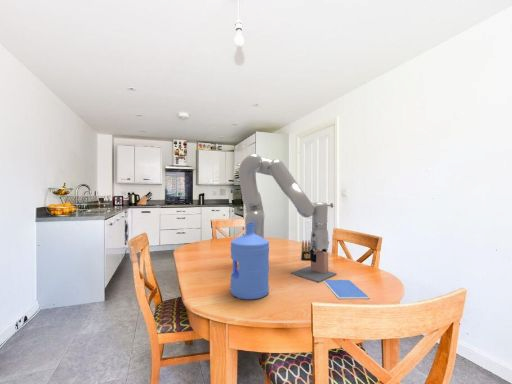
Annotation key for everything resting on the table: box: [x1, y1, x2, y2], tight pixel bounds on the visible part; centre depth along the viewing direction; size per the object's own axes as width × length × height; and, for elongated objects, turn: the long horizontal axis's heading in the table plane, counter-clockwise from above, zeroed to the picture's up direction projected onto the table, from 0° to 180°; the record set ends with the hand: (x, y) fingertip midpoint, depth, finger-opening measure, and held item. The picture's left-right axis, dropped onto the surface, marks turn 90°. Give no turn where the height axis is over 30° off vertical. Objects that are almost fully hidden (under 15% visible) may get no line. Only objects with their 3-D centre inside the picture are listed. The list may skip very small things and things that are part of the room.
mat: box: [290, 265, 337, 283], centre depth 123 cm, size 16×16×1 cm
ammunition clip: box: [300, 240, 311, 262], centre depth 149 cm, size 11×2×12 cm, turn 90°
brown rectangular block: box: [310, 250, 329, 274], centre depth 127 cm, size 4×8×10 cm, turn 43°
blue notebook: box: [322, 279, 370, 300], centre depth 105 cm, size 19×13×1 cm, turn 2°
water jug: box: [229, 223, 270, 301], centre depth 101 cm, size 16×16×28 cm
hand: (318, 259), depth 127 cm, fingers open, 9 cm apart
